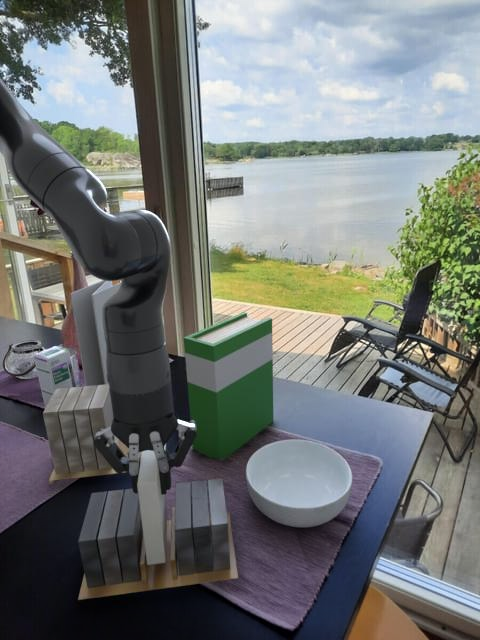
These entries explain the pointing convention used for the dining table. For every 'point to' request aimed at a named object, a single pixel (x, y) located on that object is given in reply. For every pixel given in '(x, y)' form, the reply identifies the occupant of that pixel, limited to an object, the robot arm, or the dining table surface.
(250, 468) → the cereal bowl
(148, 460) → the white book
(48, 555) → the dining table surface
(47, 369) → the syrup box
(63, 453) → the beige rack
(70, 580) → the dining table surface
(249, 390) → the hardback book
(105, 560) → the grey rack
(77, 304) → the grey box
